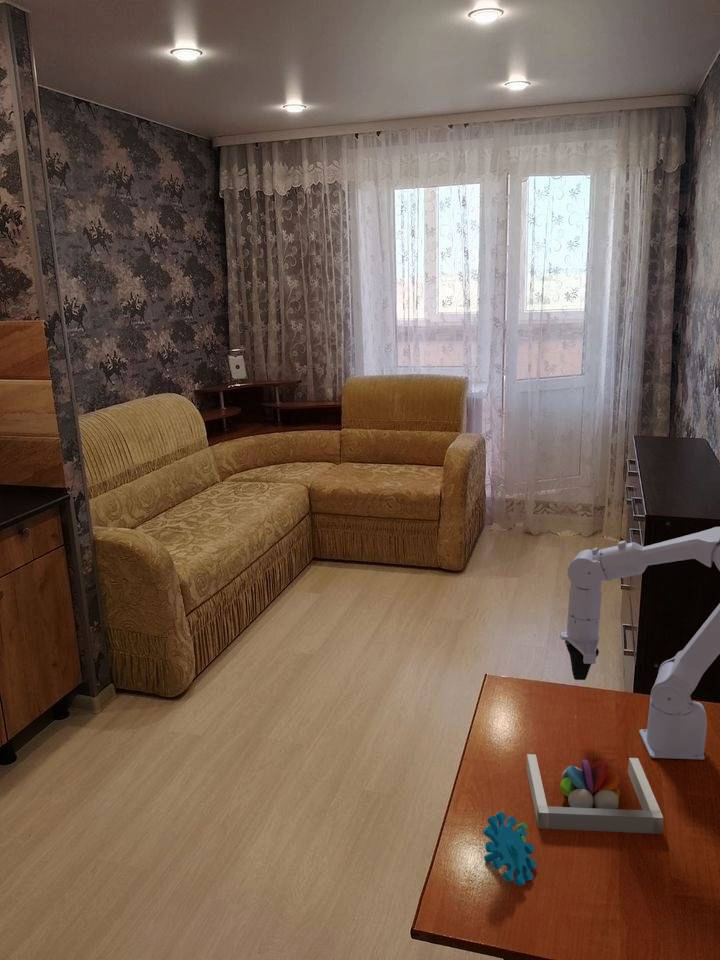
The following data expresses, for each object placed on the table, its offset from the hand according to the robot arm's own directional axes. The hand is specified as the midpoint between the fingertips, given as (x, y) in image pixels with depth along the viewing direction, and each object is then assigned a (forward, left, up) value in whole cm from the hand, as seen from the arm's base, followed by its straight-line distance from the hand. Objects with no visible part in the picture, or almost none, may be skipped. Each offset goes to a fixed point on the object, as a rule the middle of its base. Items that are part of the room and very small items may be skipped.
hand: (579, 678), depth 143 cm
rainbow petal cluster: (+2, +22, -10) cm, 24 cm away
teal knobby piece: (+17, +38, -10) cm, 42 cm away
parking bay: (+2, +22, -9) cm, 24 cm away
